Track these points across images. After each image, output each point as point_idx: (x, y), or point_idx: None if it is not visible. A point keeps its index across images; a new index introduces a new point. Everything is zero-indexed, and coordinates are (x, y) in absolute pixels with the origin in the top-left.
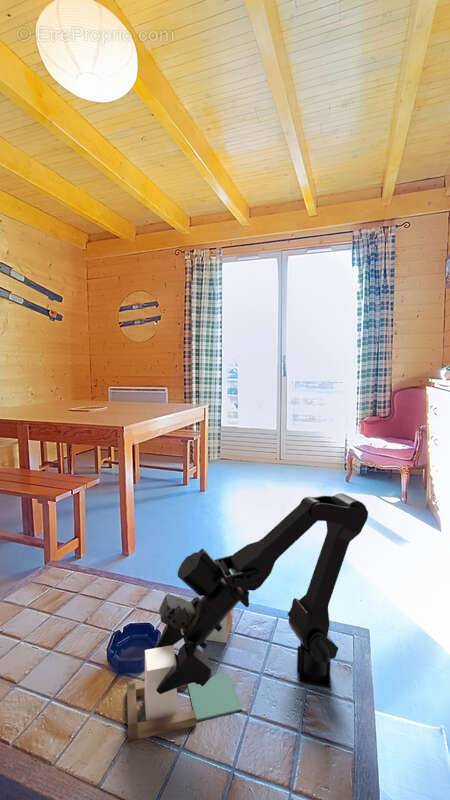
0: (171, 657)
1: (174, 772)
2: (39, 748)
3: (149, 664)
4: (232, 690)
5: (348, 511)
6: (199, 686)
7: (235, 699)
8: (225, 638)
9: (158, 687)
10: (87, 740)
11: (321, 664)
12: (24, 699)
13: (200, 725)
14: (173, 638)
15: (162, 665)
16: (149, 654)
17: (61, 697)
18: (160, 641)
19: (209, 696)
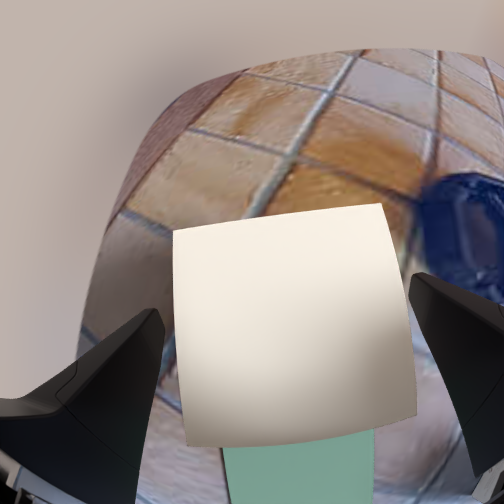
0: (277, 416)
1: None
2: (224, 101)
3: (230, 243)
4: None
5: None
6: (345, 459)
7: None
8: (479, 496)
9: (137, 315)
10: (220, 164)
11: None
12: (328, 65)
13: (207, 448)
14: (475, 400)
15: (201, 341)
16: (335, 236)
17: (336, 103)
18: (461, 309)
19: (298, 484)
